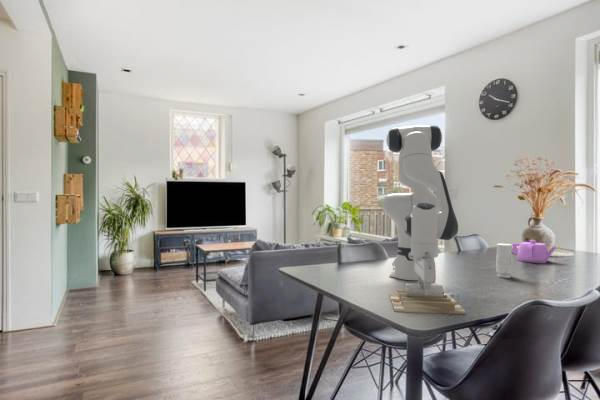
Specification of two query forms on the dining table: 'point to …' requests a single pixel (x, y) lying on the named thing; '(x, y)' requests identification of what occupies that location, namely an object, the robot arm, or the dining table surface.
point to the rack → (425, 304)
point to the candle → (504, 260)
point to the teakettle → (532, 251)
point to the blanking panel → (418, 290)
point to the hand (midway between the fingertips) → (424, 290)
